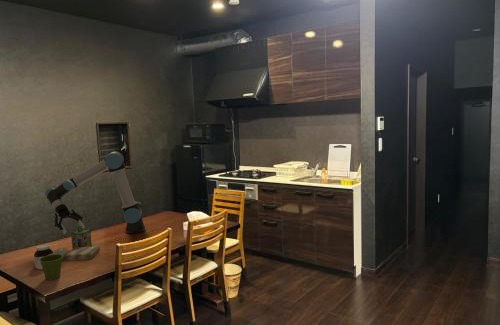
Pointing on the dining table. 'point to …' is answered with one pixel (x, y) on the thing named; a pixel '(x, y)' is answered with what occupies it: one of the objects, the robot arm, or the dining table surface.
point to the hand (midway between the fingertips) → (74, 230)
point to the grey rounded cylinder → (61, 252)
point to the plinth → (82, 253)
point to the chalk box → (81, 238)
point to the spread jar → (41, 254)
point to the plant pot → (51, 265)
